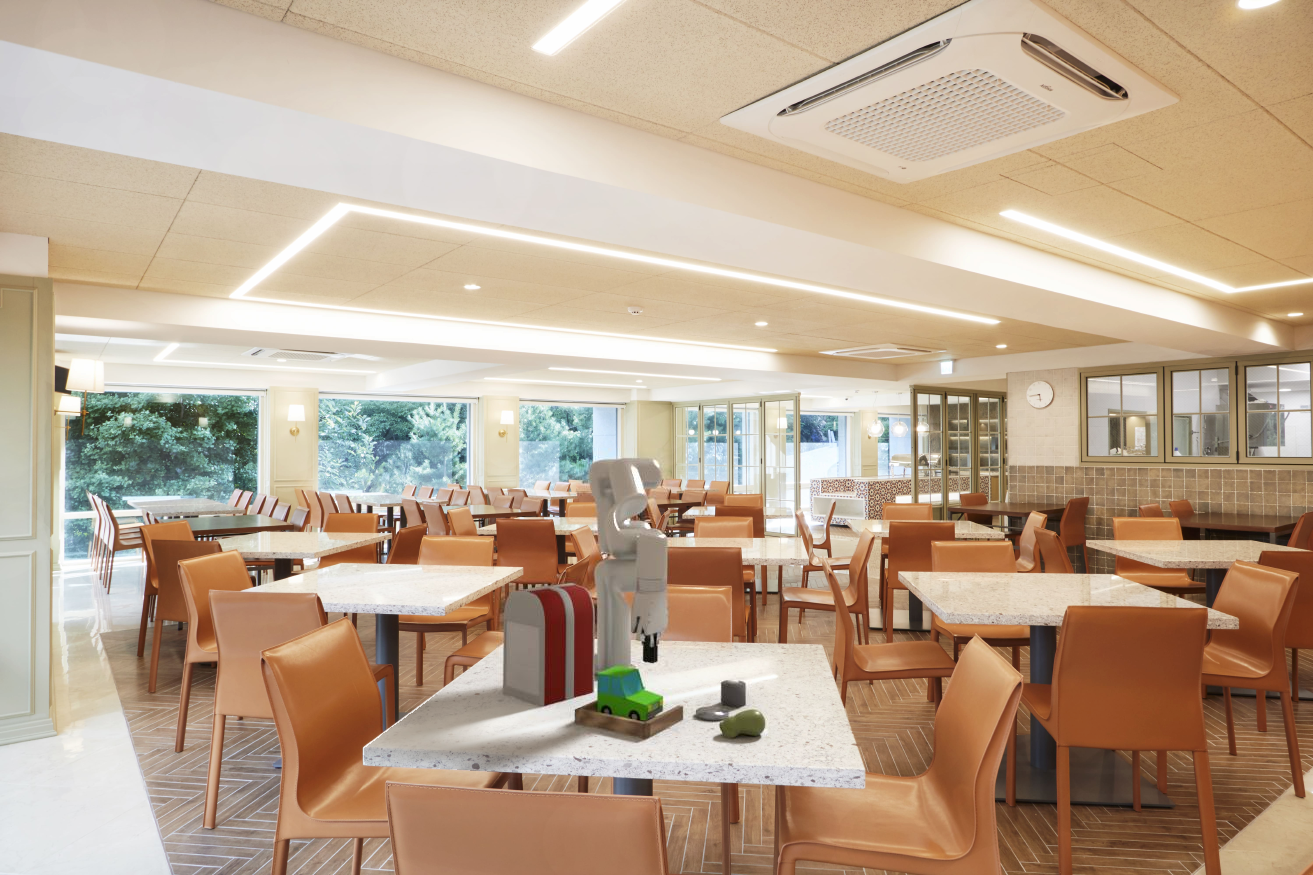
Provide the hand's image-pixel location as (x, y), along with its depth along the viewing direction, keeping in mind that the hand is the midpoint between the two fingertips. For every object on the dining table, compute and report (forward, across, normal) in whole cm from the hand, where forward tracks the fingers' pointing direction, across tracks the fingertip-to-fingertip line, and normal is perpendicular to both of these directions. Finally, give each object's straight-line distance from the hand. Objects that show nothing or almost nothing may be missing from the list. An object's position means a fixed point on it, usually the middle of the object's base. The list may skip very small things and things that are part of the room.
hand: (650, 661), depth 183 cm
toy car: (+11, +7, 0) cm, 13 cm away
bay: (+11, +10, +1) cm, 15 cm away
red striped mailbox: (+12, +3, -29) cm, 32 cm away
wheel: (+11, -14, +15) cm, 24 cm away
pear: (+11, +4, +27) cm, 29 cm away
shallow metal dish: (+11, -4, +15) cm, 19 cm away
